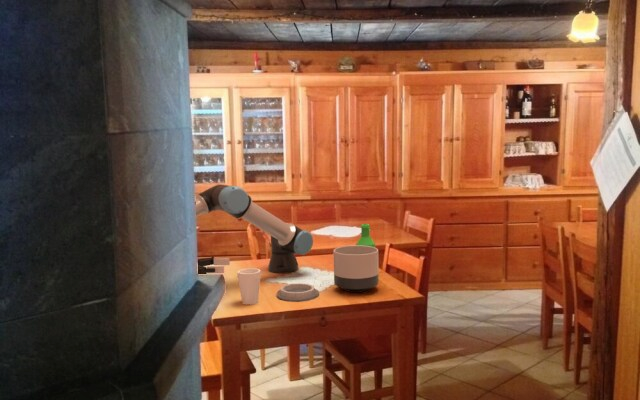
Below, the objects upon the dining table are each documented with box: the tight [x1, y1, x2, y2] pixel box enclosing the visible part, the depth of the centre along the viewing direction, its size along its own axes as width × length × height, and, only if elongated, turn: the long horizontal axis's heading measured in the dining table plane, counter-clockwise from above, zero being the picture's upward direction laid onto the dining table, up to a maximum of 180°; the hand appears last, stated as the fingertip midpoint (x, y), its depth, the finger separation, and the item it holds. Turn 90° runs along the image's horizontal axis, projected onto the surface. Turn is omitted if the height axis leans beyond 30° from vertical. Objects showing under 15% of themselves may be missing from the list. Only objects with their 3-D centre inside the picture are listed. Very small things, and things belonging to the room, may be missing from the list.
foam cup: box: [236, 267, 262, 305], centre depth 219 cm, size 10×9×13 cm
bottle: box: [355, 223, 376, 248], centre depth 254 cm, size 9×9×25 cm
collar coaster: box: [276, 282, 320, 302], centre depth 228 cm, size 18×18×3 cm
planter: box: [332, 244, 380, 293], centre depth 233 cm, size 19×19×18 cm
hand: (226, 265), depth 218 cm, fingers open, 13 cm apart
